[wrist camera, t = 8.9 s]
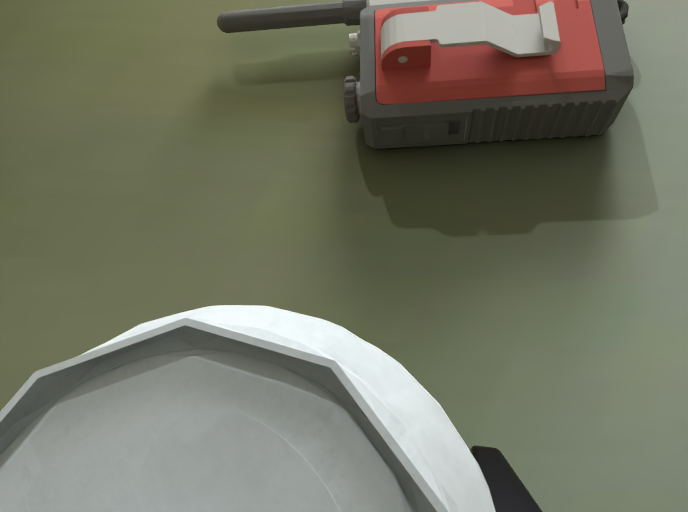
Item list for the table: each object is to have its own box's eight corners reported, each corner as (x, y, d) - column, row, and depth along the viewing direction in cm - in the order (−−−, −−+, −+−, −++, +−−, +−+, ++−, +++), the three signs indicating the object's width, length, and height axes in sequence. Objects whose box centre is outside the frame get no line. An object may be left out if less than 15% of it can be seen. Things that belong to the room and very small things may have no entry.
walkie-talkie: (608, -7, 28) (227, 26, 31) (640, -89, 24) (198, -44, 26) (641, 140, 25) (211, 164, 27) (685, 74, 21) (176, 109, 23)
